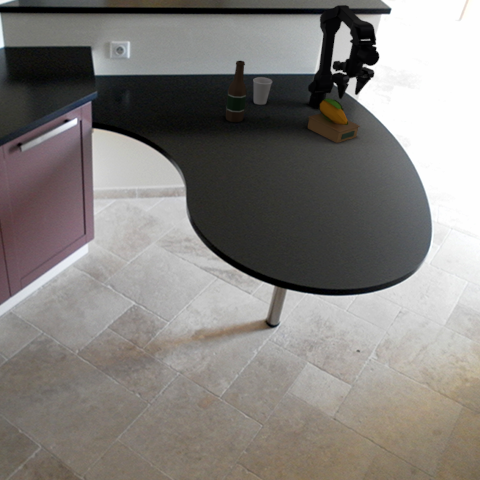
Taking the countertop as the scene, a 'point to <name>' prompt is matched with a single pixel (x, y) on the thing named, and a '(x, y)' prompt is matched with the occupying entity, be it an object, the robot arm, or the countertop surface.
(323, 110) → the corn
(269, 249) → the countertop surface
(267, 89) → the dixie cup
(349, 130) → the takeaway box
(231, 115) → the beer bottle
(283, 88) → the countertop surface
